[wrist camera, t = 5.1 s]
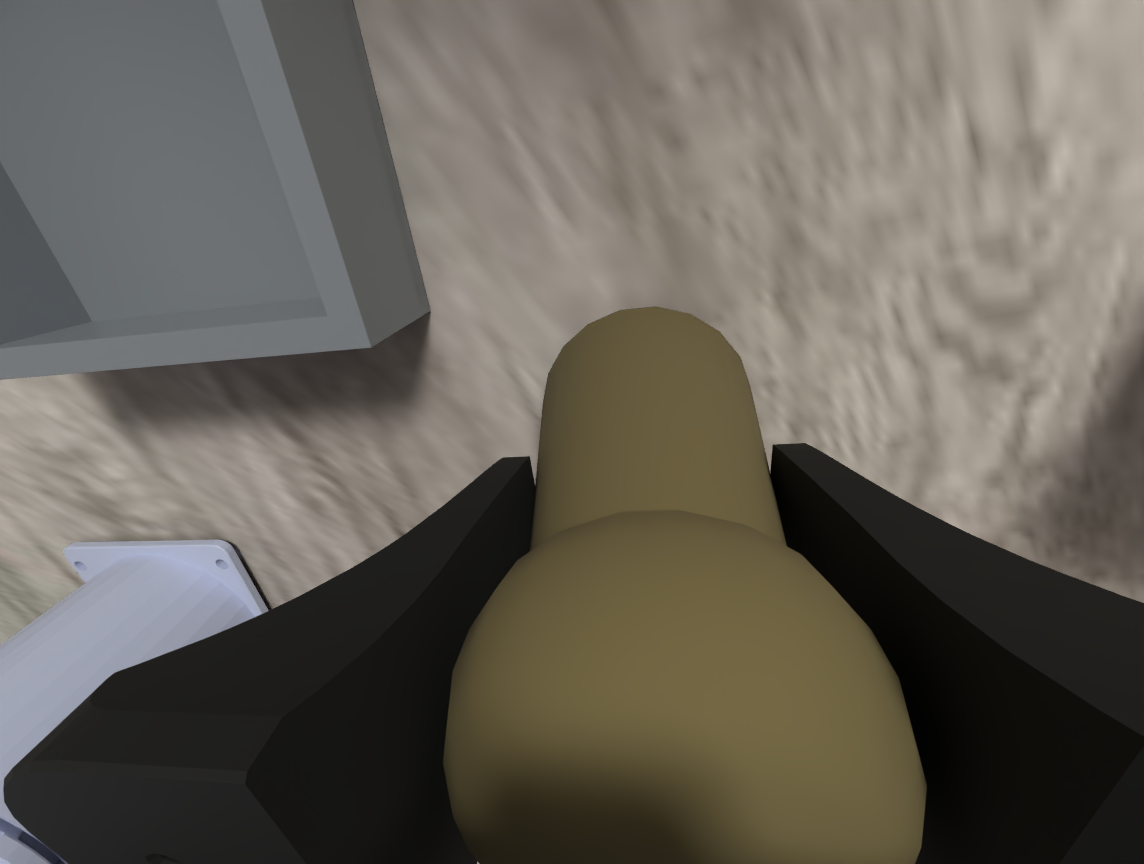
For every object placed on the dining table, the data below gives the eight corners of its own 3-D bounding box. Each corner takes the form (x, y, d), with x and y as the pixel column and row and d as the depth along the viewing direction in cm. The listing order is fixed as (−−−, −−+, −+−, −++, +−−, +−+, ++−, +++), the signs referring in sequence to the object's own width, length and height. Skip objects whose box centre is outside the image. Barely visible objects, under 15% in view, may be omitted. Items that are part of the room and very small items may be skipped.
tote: (430, 311, 14) (371, 347, 11) (104, 342, 16) (-28, 382, 13) (274, -311, 9) (72, -592, 6) (-186, -160, 11) (-536, -306, 7)
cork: (518, 456, 15) (316, 932, 5) (584, 272, 12) (410, 566, 3) (692, 519, 16) (795, 1072, 6) (793, 354, 13) (1323, 883, 3)
